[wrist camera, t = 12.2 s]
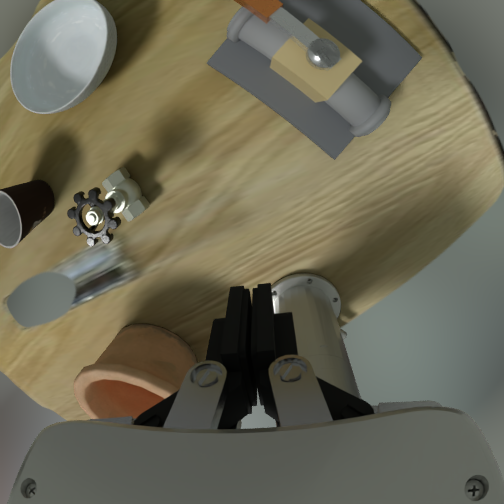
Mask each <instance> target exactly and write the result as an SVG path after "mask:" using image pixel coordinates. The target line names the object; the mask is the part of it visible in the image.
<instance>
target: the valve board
mask: <svg viewBox="0 0 504 504" xmlns="http://www.w3.org/2000/svg"><path fill="white" fill-rule="evenodd" d="M279 1H280V2H281V3H283V8H284V9H285V10H286V11H287V12H289V13H290V14H291V15H293V16H294V17H295V18H296V19H298V20H299V21H300V22H301V23H302V24H304V25H305V26H306V27H307V28H308V29H310V30H311V31H312V32H313V33H314V34H315V35H317V36H318V37H319V38H325V39H329V40H331V41H333V42H334V43H335V44H336V45H337V46H338V48H339V51H340V58H341V60H340V61H339V62H338V63H336V64H335V65H334V66H333V67H332V68H331V69H330V70H328V71H326V70H319V69H316V68H314V67H312V66H311V65H310V64H309V63H308V61H307V59H306V55H305V53H306V52H305V51H304V50H303V49H302V48H301V47H300V46H298V45H297V44H296V43H295V42H294V41H292V40H291V39H290V38H289V37H288V36H286V35H285V34H284V33H283V32H282V31H280V30H279V29H278V28H277V27H275V26H274V25H273V24H271V23H270V22H268V23H267V24H266V23H265V22H263V21H262V20H261V19H259V18H258V17H257V16H255V15H254V14H253V13H251V12H250V11H249V10H247V9H246V8H244V7H243V6H242V7H241V8H240V9H239V10H238V12H237V13H236V14H235V15H234V17H233V18H232V20H231V21H230V23H229V25H228V28H227V31H228V32H227V39H226V40H225V42H224V43H223V44H222V45H221V46H220V47H219V49H218V50H217V51H216V52H215V53H214V55H213V56H212V57H211V58H210V59H209V61H208V62H207V64H208V65H209V66H211V67H212V68H214V69H216V70H217V71H219V72H220V73H222V74H223V75H225V76H226V77H228V78H229V79H231V80H232V81H234V82H235V83H236V84H238V85H239V86H241V87H242V88H244V89H245V90H247V91H248V92H249V93H251V94H252V95H254V96H255V97H256V98H258V99H259V100H260V101H262V102H263V103H265V104H266V105H267V106H269V107H270V108H271V109H273V110H274V111H275V112H276V113H278V114H279V115H280V116H282V117H283V118H284V119H286V120H287V121H288V122H289V123H291V124H292V125H293V126H294V127H296V128H297V129H298V130H299V131H301V132H302V133H303V134H304V135H306V136H307V137H308V138H309V139H310V140H312V141H313V142H314V143H315V144H316V145H318V146H319V147H320V148H321V149H322V150H323V151H325V152H326V153H327V154H328V155H329V156H330V157H331V158H333V159H334V160H335V159H336V158H337V156H338V155H339V154H340V153H341V152H342V151H343V149H344V148H345V147H346V146H347V145H348V144H349V142H350V141H351V140H352V139H353V138H354V137H355V136H356V137H360V136H365V135H368V134H370V133H371V132H373V131H374V130H376V129H377V128H378V127H379V126H380V125H381V124H382V123H383V122H384V121H385V119H386V118H387V116H388V115H389V112H390V107H391V101H390V100H389V99H388V97H389V96H390V95H391V94H392V92H393V91H394V90H395V89H396V88H397V87H398V85H399V84H400V83H401V82H402V81H403V80H404V78H405V77H406V76H407V75H408V74H409V73H410V71H411V70H412V69H413V68H414V67H415V66H416V64H417V63H418V62H419V61H420V60H421V58H422V57H421V56H420V55H419V54H418V53H417V52H416V51H415V50H414V49H413V48H412V47H411V45H410V44H409V43H408V42H407V41H406V40H404V39H403V38H402V37H401V36H400V35H399V34H398V33H397V32H396V31H395V30H394V29H393V28H392V27H391V26H390V25H389V24H388V23H386V22H385V21H384V20H383V19H382V18H381V17H380V16H378V15H377V14H376V13H375V12H374V11H373V10H371V9H370V8H369V7H368V6H367V5H365V4H364V3H363V2H362V1H360V0H279Z"/></svg>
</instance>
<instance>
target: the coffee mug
mask: <svg viewBox="0 0 504 504" xmlns="http://www.w3.org/2000/svg"><path fill="white" fill-rule="evenodd" d="M53 208H54V195H53V192H52V190H51V188H50V186H49V185H48V184H47V183H46V182H44V181H42V180H35V181H31V182H27V183H23V184H19V185H15V186H12V187H8V188H4V189H1V190H0V245H1V246H3V247H6V248H13V247H15V246H16V245H17V244H18V243H19V242H20V241H21V240H22V239H24V238H25V237H26V236H27V235H28V234H29V233H30V232H31V231H32V230H33V229H34V228H35V227H36V226H37V225H38V224H39V223H41V222H42V221H43V220H44V219H45V218H46V217H47V216H48V215H49V214H50V213H51V212H52V210H53Z"/></svg>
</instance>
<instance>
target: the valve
mask: <svg viewBox="0 0 504 504" xmlns="http://www.w3.org/2000/svg"><path fill="white" fill-rule="evenodd" d="M129 177H130V174H129V173H128V171H127V170H126V168H125V167H122V168H120V169H118V170H117V171H115V172H114V173H112V174H111V175H110V176H109V177H107V178H106V179H105V180H104V181H103V183H102V184H103V186H104V187H105V189H106V190H107V192H108V193H107V195H106V197H105V200H103V201H102V200H100V199H98V196H99V194H101V191H100V189H99V188H97V187H95V188H93V189H91V190H90V191H89V193H88V195H89V198H86V199H85V198H84V196H83V195H84V194H85V193H84V192H82V191H80V192H78V193H76V194H75V195H74V201H75V202H76V203H77V204H78V206H77V209H76V207H72V208H71V209H69V210H68V212H67V214H68V217H69V218H71V219H73V218H74V219H76V222H77V226H75V227H74V228H73V233H74V234H75V235H76V236H79V235H81V234H82V233H84V234H86V235H87V237H88V238H87V244H88V245H89V246H94V245H95V244H96V243H97V242H98V239H96V238H97V237H101V239H102V241H103V243H105V244H108V243H109V242H110V241H111V240H113V234H111V235H110V234H109V233H108V230H109V228H112V229H116V228H117V227H118V226H119V225H120V224H121V220H120V218H119V217H115V218H112V217H113V216H114V213H119V212H121V211H123V212H122V214H123V215H124V217H125V218H126V219H127V221H131V220H133V219H134V218H136V217H137V216H138V215H140V214H141V213H142V212H144V211H145V210H146V209H147V208H148V207H149V206H150V204H149V202H148V201H147V199H146V198H145V196H143V197H142V194H141V189H140V187H139V185H138V184H137V183H136V182H135V181H134V180H132V179H130V178H129ZM86 204H89V205H90V206H91V209H90V210H89V211H88V212H87V215H86V220H87V222H88V223H89V224H90V225H92V226H91V227H90V228H88V227H87V226H86V225H85V224H84V222H83V219H82V210H83V207H84V206H85V205H86ZM104 220H105V225H104V227H103V229H102V230H100V231H95V230H96V228H97V226H98V224H100V223H101V222H102V221H104Z"/></svg>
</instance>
